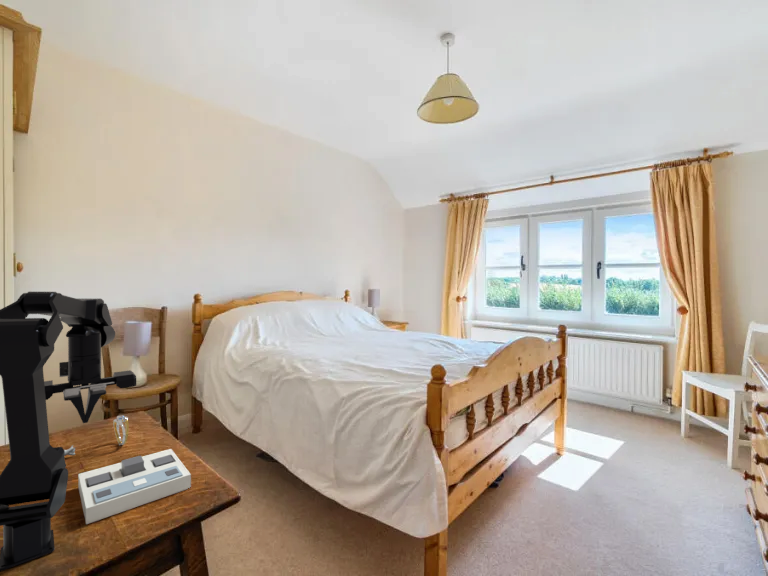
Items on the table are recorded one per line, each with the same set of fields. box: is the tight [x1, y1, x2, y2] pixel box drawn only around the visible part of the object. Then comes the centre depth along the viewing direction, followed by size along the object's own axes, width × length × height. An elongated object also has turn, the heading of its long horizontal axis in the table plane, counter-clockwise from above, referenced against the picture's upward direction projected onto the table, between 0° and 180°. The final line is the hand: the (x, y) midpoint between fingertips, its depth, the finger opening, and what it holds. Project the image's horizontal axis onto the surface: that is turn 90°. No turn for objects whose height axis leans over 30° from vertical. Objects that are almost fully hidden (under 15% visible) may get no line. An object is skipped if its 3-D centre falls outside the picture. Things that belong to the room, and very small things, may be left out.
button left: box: [87, 473, 111, 488], centre depth 78 cm, size 4×4×3 cm
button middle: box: [121, 454, 144, 477], centre depth 82 cm, size 4×4×3 cm
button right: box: [153, 455, 174, 467], centre depth 87 cm, size 4×4×3 cm
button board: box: [77, 448, 192, 525], centre depth 81 cm, size 16×18×3 cm
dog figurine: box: [64, 444, 76, 457], centre depth 92 cm, size 3×6×4 cm
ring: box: [112, 414, 130, 446], centre depth 100 cm, size 7×3×8 cm, turn 48°
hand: (85, 422), depth 83 cm, fingers closed
